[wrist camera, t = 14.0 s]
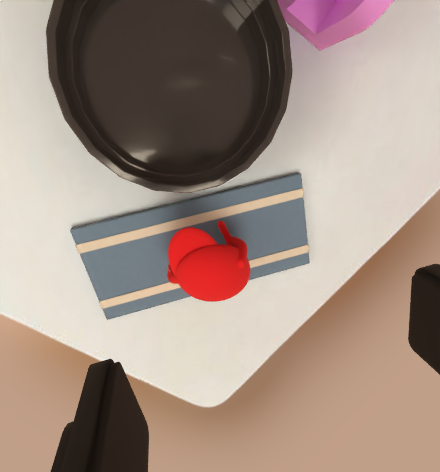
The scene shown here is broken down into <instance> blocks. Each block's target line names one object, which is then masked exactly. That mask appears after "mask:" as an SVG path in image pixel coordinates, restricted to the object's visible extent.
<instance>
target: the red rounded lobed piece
mask: <svg viewBox="0 0 440 472" xmlns="http://www.w3.org/2000/svg"><path fill="white" fill-rule="evenodd" d="M218 227H219V229H220V231H221V233H222V235H223V237H224V239H225V241H226V243H227V245H224V244H217V242H216V241H215V240H214V239H213V238H212V237H211V236H210V235H209V234H208V233H206V232H205V231H203V230H201V229H198V228H193V227H188V228H184V229H181V230H179V231H178V232H177V233H175V235H174V236H173V237H172V239H171V241H170V244H169V248H168V259H169V265H168V272H167V277H168V280H169V281H170V282H171V283H173V284H179V286H180V287H181V288H182V289H183V290H184V291H185V292H186V293H187V294H189V295H190V296H192V297H194V298H196V299H199V300H203V301H222V300H226V299H229V298H231V297H233V296H235V295H236V294H238V293H239V292H240V291H241V290H242V289H243V288H244V287H245V286H246V284H247V282H248V280H249V277H250V263H249V260H248V258H247V253H248V248H247V245H246V243H245V242H244V241H243V240H241V239H239V238H237V237H234V236H233V237H231V235H230V233H229V231H228V229H227V227H226V225H225V223H224V222H223V221H218Z"/></svg>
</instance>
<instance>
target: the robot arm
mask: <svg viewBox="0 0 440 472" xmlns="http://www.w3.org/2000/svg"><path fill="white" fill-rule="evenodd" d="M408 340H409V344H410V346H411V348H412V349H413V350H414V351H415V352H416V353H417V354H418V355H419V356H420V357H421V358H422V359H423V360H424V361H426V362H427V363H428V364H429V365H430V366H431V367H432V368H433V369H434V370H435V371H437V372H438V373H439V374H440V265H439V264H433V265H430V266H426V267H423V268H419V269H417V270H416V272H415V275H414V276H413V277H412V285H411V303H410V321H409V337H408ZM148 446H149V432H148V425H147V422H146V420H145V417H144V415H143V413H142V411H141V408H140V406H139V404H138V402H137V399H136V397H135V395H134V393H133V390H132V388H131V386H130V383H129V381H128V379H127V377H126V374H125V372H124V370H123V368H122V365H121V363H120V362H116V363H114V361H113V360H112V359H108V360H105V361H101V362H98V363H94V364H91V365H90V366H89V368H88V372H87V376H86V379H85V383H84V386H83V390H82V394H81V397H80V401H79V404H78V408H77V411H76V415H75V419H74V422H71V423H68V424H67V426H66V427H65V428H64V431H63V433H62V437H61V440H60V443H59V446H58V449H57V453H56V456H55V459H54V463H53V466H52V469H51V472H148V448H149V447H148Z"/></svg>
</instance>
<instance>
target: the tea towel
mask: <svg viewBox="0 0 440 472" xmlns="http://www.w3.org/2000/svg"><path fill="white" fill-rule="evenodd" d="M303 197H304V193H303V188H302V179H301V174H300V173H296V174H292V175H288V176H284V177H280V178H276V179H271V180H267V181H263V182H259V183H255V184H251V185H247V186H243V187H239V188H235V189H231V190H226V191H222V192H218V193H214V194H210V195H206V196H202V197H198V198H194V199H190V200H185V201H181V202H177V203H173V204H169V205H165V206H161V207H157V208H153V209H149V210H144V211H140V212H136V213H132V214H128V215H124V216H120V217H116V218H112V219H108V220H103V221H99V222H95V223H91V224H87V225H83V226H79V227H75V228H72V229H71V230H70V231H71V234H72V236H73V239H74V241H75V243H76V248H77V250H78V252H79V254H80V255H81V258H82V260H83V263H84V265H85V268H86V270H87V272H88V275H89V277H90V280H91V282H92V285H93V287H94V289H95V292H96V294H97V297H98V299H99V303H100V306H101V308H102V309H103V311H104V314H105V316H106V318H107V320H108V319H112V318H115V317H119V316H122V315H126V314H129V313H133V312H137V311H140V310H144V309H147V308H151V307H155V306H158V305H162V304H165V303H169V302H172V301H176V300H180V299H183V298H187V297H190V295H189V294H187V293H186V292H185V291H184V290H183V289H182V288H181V287H180V286H179V284H173V283H171V282H170V281H169V280H168V277H167V272H168V265H169V259H168V248H169V244H170V241H171V239H172V237H173V236H174V235H175V233H177V232H178V231H179V230H181V229H184V228H188V227H193V228H198V229H201V230H203V231H205V232H206V233H208V234H209V235H210V236H211V237H212V238H213V239H214V240H215V241H216V242H217V244H224V245H227V243H226V241H225V239H224V237H223V235H222V233H221V231H220V229H219V227H218V221H223V222H224V223H225V225H226V227H227V229H228V231H229V233H230V235H231V237H233V236H234V237H237V238H239V239H241V240H243V241H244V242H245V243H246V245H247V248H248V253H247V258H248V260H249V263H250V277H249V280H251V279H255V278H258V277H262V276H265V275H269V274H273V273H276V272H280V271H283V270H287V269H290V268H294V267H298V266H301V265H305V264H308V263H309V245H308V242H307V231H306V221H305V211H304V200H303Z"/></svg>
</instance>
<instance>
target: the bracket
mask: <svg viewBox="0 0 440 472" xmlns="http://www.w3.org/2000/svg"><path fill="white" fill-rule="evenodd" d="M277 1H278V4H279V7H280V9H281V12H282V15H283V17H284V20H285V21H286V22H287V23H289V24H290V25H291V26H292V27H293V28H294V29H296V30H297V31H298V32H299V33H300V34H301V35H303V36H304V37H305V38H306V39H307V40H309V41H310V42H311V43H312V44H313V45H314V46H316V47H317V48H318V49H319V50H322V49H324V48H327V47H329V46H331V45H333V44H336V43H338V42H340V41H342V40H345V39H347V38H349V37H351V36H354V35H356V34H358V33H360V32H362V31H364V30H365V29H367V28H368V27H369V26H370V25H372V24H373V23H374V22H375V21H376V20H377V19H378V18H379V17H380V16H381V15H382V14H383V13H384V12H385V10H386V9H387V8H388V7H389V6H390V4H391V3H392V2H393V0H277Z"/></svg>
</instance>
